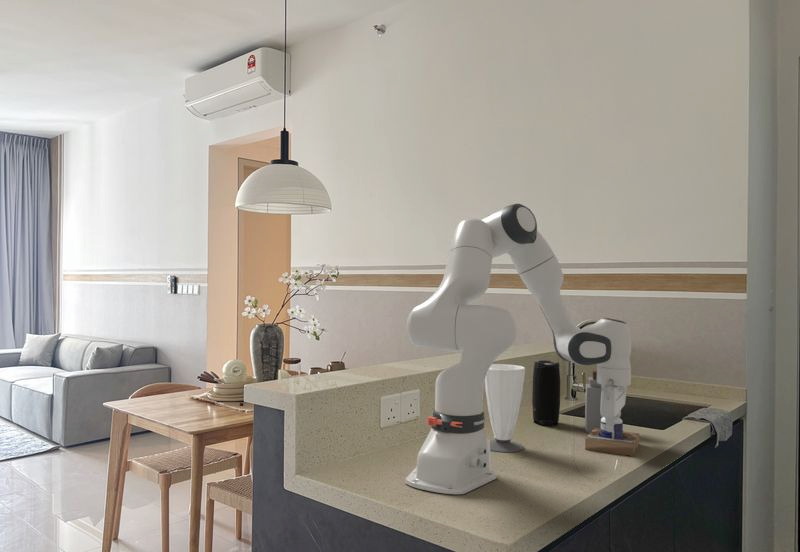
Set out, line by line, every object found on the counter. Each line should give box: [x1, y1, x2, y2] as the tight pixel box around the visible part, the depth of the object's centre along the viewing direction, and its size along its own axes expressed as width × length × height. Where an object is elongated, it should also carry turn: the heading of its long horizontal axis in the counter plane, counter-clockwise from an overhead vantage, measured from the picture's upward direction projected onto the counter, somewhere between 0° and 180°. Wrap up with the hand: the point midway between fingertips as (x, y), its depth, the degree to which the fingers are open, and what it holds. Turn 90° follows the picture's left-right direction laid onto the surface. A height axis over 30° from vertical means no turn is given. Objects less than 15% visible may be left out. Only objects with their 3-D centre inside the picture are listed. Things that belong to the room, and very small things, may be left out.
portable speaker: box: [531, 359, 561, 427], centre depth 191 cm, size 9×9×20 cm
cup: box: [484, 363, 526, 454], centre depth 163 cm, size 12×12×22 cm
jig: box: [584, 428, 640, 457], centre depth 165 cm, size 14×12×3 cm
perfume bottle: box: [584, 370, 603, 434], centre depth 183 cm, size 7×7×18 cm
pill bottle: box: [601, 410, 624, 439], centre depth 165 cm, size 6×6×10 cm
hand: (612, 428), depth 165 cm, fingers open, 8 cm apart
